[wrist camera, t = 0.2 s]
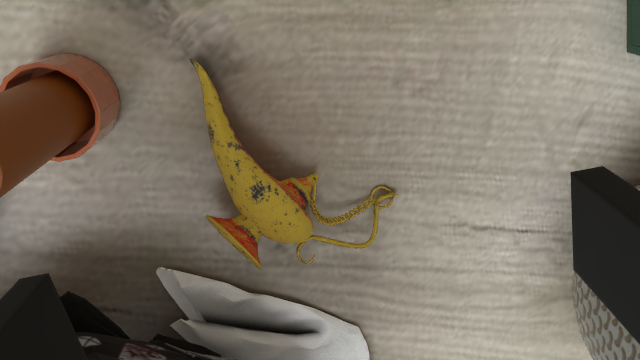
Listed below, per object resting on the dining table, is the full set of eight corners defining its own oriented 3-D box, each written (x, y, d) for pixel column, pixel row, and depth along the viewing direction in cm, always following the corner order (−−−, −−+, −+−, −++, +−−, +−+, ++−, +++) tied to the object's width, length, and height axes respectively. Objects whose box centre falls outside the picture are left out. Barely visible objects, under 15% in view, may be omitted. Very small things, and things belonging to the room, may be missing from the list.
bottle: (25, 76, 35) (-187, 160, 20) (88, 62, 35) (-77, 135, 20) (51, 139, 37) (-126, 259, 22) (112, 125, 37) (-24, 237, 21)
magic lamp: (115, 133, 37) (228, 32, 40) (294, 306, 40) (387, 202, 43) (109, 118, 30) (245, -2, 33) (323, 326, 34) (430, 202, 37)
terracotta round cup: (12, 64, 36) (-21, 75, 32) (101, 44, 35) (77, 53, 32) (49, 150, 38) (21, 169, 34) (133, 131, 38) (114, 149, 34)
